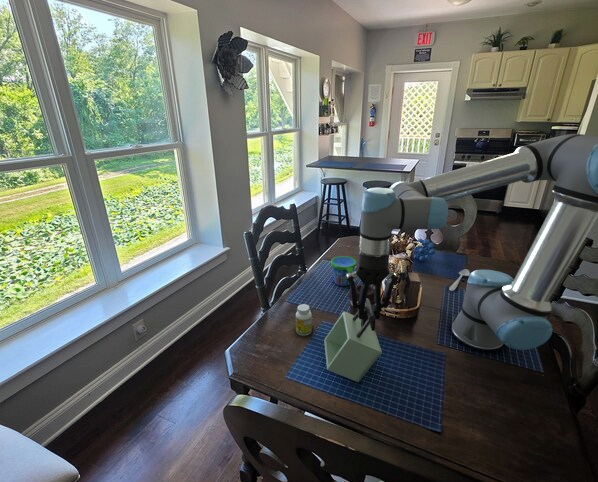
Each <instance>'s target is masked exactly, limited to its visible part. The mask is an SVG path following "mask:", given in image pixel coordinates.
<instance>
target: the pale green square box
mask: <svg viewBox="0 0 598 482" xmlns="http://www.w3.org/2000/svg"><path fill="white" fill-rule="evenodd" d="M365 307H366V310H367V315H368V320H367V321H366V323H365V324H364V325H363V327H361V319H359V318H358V311H357V313H356V314H355V316H354V315H352V314H350V312H347V311H345V310H344V311H343V312H342V313H341V314H340V316H339V317H338V319H337V321H336V322H335V323H334V325H333V326H332V328H331V329H330V331H329V332H328V334H327V335H326V337H325V338H324V340H323V341H324V352H325V362H326V370H327V371H329V372H332V373H334V374H336V375H339V376H342V377H344V378H346V379H349V380H352V381H353V382H356V383H360V381H361V380H362V379H363V377H364V376H365V375H366V373H367V372H368V371H369V370H370V369H371V367H372V366H373V365H374V364H375V362H376V361H377V360H378V358H380V356H381V354H382V353H383V352H382V348H381V345H380V342H379V339H378V336H377V333H376V330H375V331H372V330H371V326H370V323H371V322H373V321H375V320H377V319H376V317H375V315H374V312H373V309H372V306H371V303H370V300H369V299H368V298H366V303H365ZM375 322H376V321H375Z"/></svg>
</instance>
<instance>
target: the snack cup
mask: <svg viewBox="0 0 598 482" xmlns="http://www.w3.org/2000/svg"><path fill="white" fill-rule="evenodd" d="M330 265H331V269H332V276H333V282H334V283H335V284H336V285H337V286H341V287H347V286H350V283H349V281H348V279H347V275H346V274H347V273H348V272H349V273H352V272H355V269H356V267H357V260H356V259H355V258H353V257H351V256H347V255H339V256H334V257H332V259H331V260H330Z"/></svg>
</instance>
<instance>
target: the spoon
mask: <svg viewBox="0 0 598 482" xmlns="http://www.w3.org/2000/svg"><path fill="white" fill-rule="evenodd" d="M458 274H459V275H460V276H459V277H458V278H457V279H456V280H455V281H454V282H453V283H452V285H450V286H449V288H448V290H449V291H450V292H454V291H455V290H456V289H457V288H458V285H459V283H460V280H461V279H462V277H469V276H470V274H471V271H470V270H469V269H467V268H463V269H462V270H460V271H459V272H458Z"/></svg>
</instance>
